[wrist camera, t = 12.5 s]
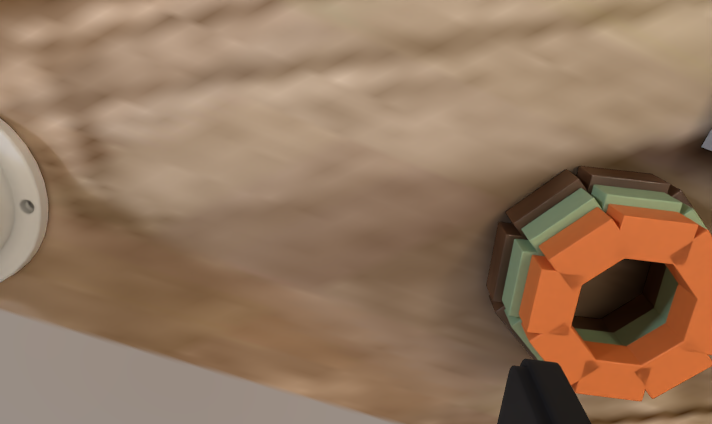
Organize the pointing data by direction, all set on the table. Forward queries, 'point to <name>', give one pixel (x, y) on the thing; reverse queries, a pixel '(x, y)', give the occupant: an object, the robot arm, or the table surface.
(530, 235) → the green ring
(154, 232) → the table surface
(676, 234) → the terracotta ring
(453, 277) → the table surface
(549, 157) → the table surface
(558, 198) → the walnut ring
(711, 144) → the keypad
